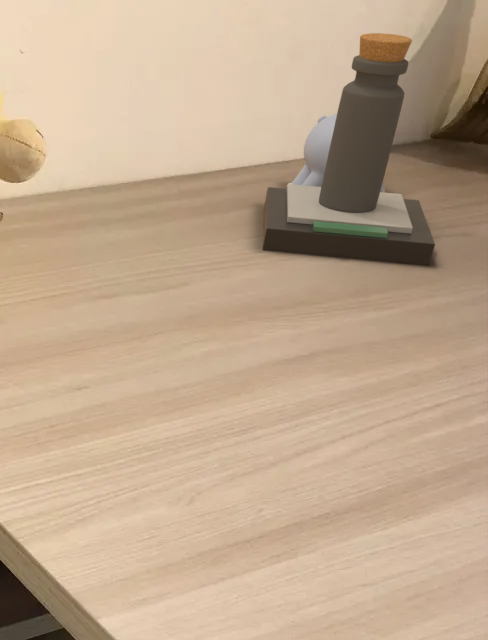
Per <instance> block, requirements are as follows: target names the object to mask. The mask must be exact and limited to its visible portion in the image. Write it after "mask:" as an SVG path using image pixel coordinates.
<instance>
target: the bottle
mask: <svg viewBox="0 0 488 640" xmlns="http://www.w3.org/2000/svg"><path fill="white" fill-rule="evenodd" d="M412 42H413V39H412V38H410V37H409V36H405V35H401V34H392V33H380V32H377V33H376V32H375V33H373V32H371V33H364V34H363V33H362V34H361V35H360V37H359V52H358V53H359V54H358V55H355V56H354V57H353V58H352V62H351V69H352V71H355V78H354V80H352V81H350V82H348V83H347V84H346V85H344V86H343V88H342V91H341V96H340V99H339V103H338V107H337V111H336V112H337V113H336V114H337V117H336V121H335V126H334V131H333V135H332V140H331V144H330V149H329V153H328V158H327V163H326V167H325V172H324V177H323V181H322V186H321V191H320V196H319V203H320V204H321V205H323V206H325V207H327V208H330V209H334V210H338V211H344V212H367V211H371V210H373V209H375V208H376V205H377V202H378V198H379V194H380V191H381V187H382V183H383V184H384V178H385V175H386V171H387V167H388V163H389V160H390V159H389V158H390V155H391V152H392V147H393V144H394V139H395V136H396V131H397V128H398V123H399V119H400V115H401V112H402V107H403V103H404V99H405V91H404V89H403V88H402V87H401V86H400V85H399V84H398V82H399V78H400V76H401V75H404V74H406V73H407V71H408V68H409V60H407V59H405V58H406V56H407V54H408V51H409V50H410V49H409V48H410V47H411V44H412Z"/></svg>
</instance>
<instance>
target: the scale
mask: <svg viewBox="0 0 488 640" xmlns="http://www.w3.org/2000/svg"><path fill="white" fill-rule="evenodd" d="M320 191H321V187H315V186H303V185H292V184H289V183H287V185H286V188H283V187H282V188H281V187H273V186H272V187H271V186H270V187H269V186H268V187H267V190H266V195H265V199H264V206H263V220H262V221H263V224H262V246H261V247H262V248H261V249H262V251H265V252H266V251H268V252H278V253H286V254H297V255H298V254H299V255H306V256H308V255H309V256H316V257H317V256H319V257H329V258H338V259H339V258H340V259H349V260H360V261H370V262H379V263H389V264H391V263H392V264H399V265H402V264H403V265H411V266H412V265H413V266H422V267H429V266H430V263H431V259H432V256H433V253H434V250H435V246H436V243H435V240H434V238H433V235H432V232H431V229H430V227H429V224H428V221H427V219H426V215H425V213H424V211H423V208H422V205H421V202H420V200H419V199H408V198H404V197H403V194H402V193H394V192H385V193H384V192H380V194H379V198H378V202H377V205H376V208H375V209H373V210H371V211H367V212H344V211H338V210H334V209H330V208H327V207H325V206H323V205H321V204H320V203H319V196H320Z"/></svg>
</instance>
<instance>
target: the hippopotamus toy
mask: <svg viewBox="0 0 488 640" xmlns="http://www.w3.org/2000/svg"><path fill="white" fill-rule="evenodd" d="M336 117H337V113H335V114H331V115H328V116H327V115H321V116H319V118H318V119H317V123H316V124H315V125H314V126H313V127H312V128H311V130H310V131H309V133H308V134H307V136H306V139H305V141H304V144H303V157H304V158H303V159H304V161H305V164H304V166H303V167H302V168H301V170H300V171H299V172H298V174H297V175H296V176H295V178H294V179H293V181H292V182H288V184H292V185H303V186H315V187H321V186H322V181H323V177H324V172H325V167H326V163H327V158H328V153H329V149H330V144H331V140H332V135H333V131H334V126H335V121H336ZM380 192H384V193H386V189H385V186H384V182H383V183H382V187H381V191H380Z"/></svg>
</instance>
